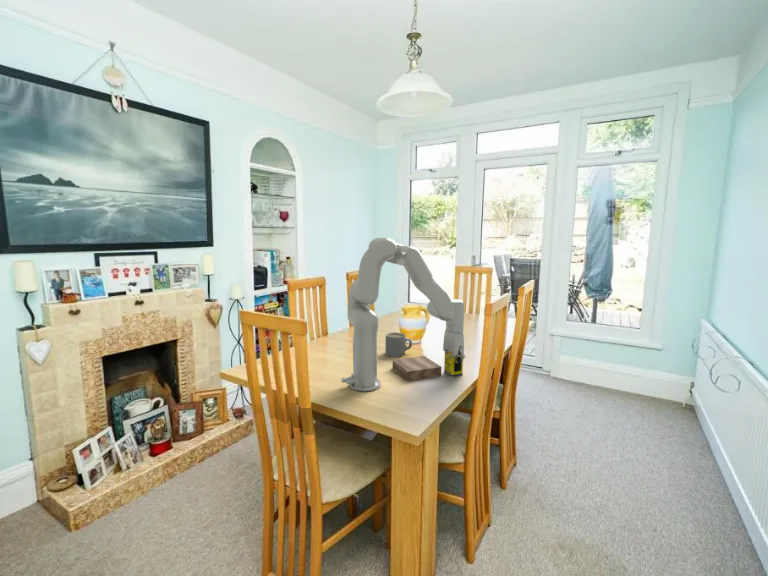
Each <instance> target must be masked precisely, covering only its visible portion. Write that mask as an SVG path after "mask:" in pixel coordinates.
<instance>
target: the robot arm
mask: <svg viewBox="0 0 768 576" xmlns="http://www.w3.org/2000/svg"><path fill="white" fill-rule="evenodd" d="M425 260H426V259H425V258H424V256H423V255H422V253H421V251H420V250H419V248H417V247H416V246H414V245H404V244H400V243H396V241H395V240H393V239H391V238H389V237H376V238H374V239H372V240H371V241H370V243H369V245H368V249H367V250H366V251H365V252H364V254H363V255H362V257H361V259H360V261H359V262H360V263H359V266H358V268H359V269H358V275H357V279H355V280H354V281H353V282H352V284H351V285H350V288H349V291H348V292H349V293H348V300H347V301H348V303H347V319H348V322H349V323H350V324H351V326H353V334H352V335H353V336H352V370H353V371H352V372H353V373H350V376H348V377H341V378H340V379H341V381H340V382H341V384H343V383H344V384H346V385H349V388H351V389H352V390H354V391H358V392H371V391H375V390H377V389H379V388H380V387H381V385H382V384H381V383H382V382H381V380H380V379H378V371H377V370H378V332H379V318H378V315H377V313H376V312H375V311H374V310H372V309H371V305H373V304H374V303H376V302H377V300H378V298H379V291H380V289H379V288H380V281H381V280H380V279H381V273H382V268H383V266H384V264H386V262H388V263H390V264H395V265H398V266H403V267H404V269H405V271H406V273H407V275H408V277H409V278H410V280H411V282H412V284H413V286H414V287H415V288H416V289H417V290H418V291H419V292H420V293H421V294H423V295H424V296H425V297H426V298H427V299H428V300H429V302H428V303H427V304H426V311H427V312H428V314H429V315H430V316H431V317H434V318H435V319H439V320H440V321H443V322H445V330H444V335H443V346H442V349H443V352H445V349H446V350H448V351H450V352H452V356H455V362H454V371H455V372H457V371H461V362H462V361H463V362H464V359H465V358H466V355H465V337H464V327H465V325H464V323H465V321H464V319H465V302H464V301H463V300H462V299H457V298H456V299H455V298H453V299H452V298H450V296H449V294H448V293H447V291H446V290H445V288H443V286H442V285H441V284H440V283H439V281H438V280H437V279H436V278H435V277H434V275H433V273H432V272H431V270H430V267H429V266H428V264H427V263H426V261H425ZM458 353H460V355H458ZM458 356H459V358H458V359H457V357H458Z"/></svg>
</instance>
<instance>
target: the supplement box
mask: <svg viewBox="0 0 768 576" xmlns="http://www.w3.org/2000/svg"><path fill="white" fill-rule="evenodd" d="M458 355H460V353H458ZM458 358H459V356H458V357H457V359H458ZM443 362H444V364H443V367H444V369H443V371H444V373H445V374H446V375H448V376H449V377H459V376H463V375H464V374H463V370H464V369H463V368H464V360H463V361H462V362H461V371H457V372H455V371H454V362H455V356H452V352H450V351H448V350H446V349H445V351H444V361H443Z"/></svg>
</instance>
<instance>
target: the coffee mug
mask: <svg viewBox="0 0 768 576" xmlns="http://www.w3.org/2000/svg"><path fill="white" fill-rule="evenodd" d="M406 342H409V345H406ZM412 345H413V341H412V339H411V338H410V337H406V334H405V333H403V332H396V331H395V332H388V333H386V334H385V356H387V357H390V356H391V358H400V357H404V356H405V355H406V351H408V350H410V349H411V348H412V347H413V346H412Z"/></svg>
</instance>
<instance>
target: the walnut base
mask: <svg viewBox="0 0 768 576" xmlns="http://www.w3.org/2000/svg"><path fill="white" fill-rule="evenodd" d="M392 369H393V370H394V371H395V372H396V371H397V372H396V373H397V374H399V375H400V376H401V377H403V379H405V380H406V381H407V382H409V381H415V380H422V379H423V380H424V379H429V377H430V378H436V377H440V376H442V366H441V365H439V364H438V363H436V362H435V361H433V360H431V359H430V358H428V357H426V356H425V355H420V356H414V357H413V356H410V357H404V358H398V359H396V358H395V359H392ZM435 376H436V377H435Z"/></svg>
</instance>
